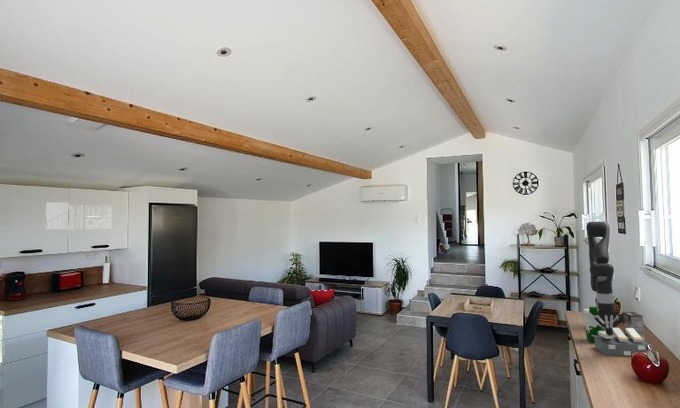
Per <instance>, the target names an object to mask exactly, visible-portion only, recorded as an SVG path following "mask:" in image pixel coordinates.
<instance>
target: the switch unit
mask: <svg viewBox="0 0 680 408" xmlns="http://www.w3.org/2000/svg"><path fill="white" fill-rule="evenodd" d="M613 337H614V339H606V338H604V337H602V336H594V341H595V343H594V348H595V347H596V348H595V349H596V350H597V351H599V352H600V353H601V354H602V355H604V357H605V356H606V357H607V356H609V357H633V356H632V354H633V353H635V352H644V353H645V352H646V351H647V345H649V346H650V344H649V343H648V342H646V341H645V342H644V341H643V342H634V341H633V340H632V338H631V337H627V338H628V342H620V341H619V340H618V339H617V337H616V336H613Z"/></svg>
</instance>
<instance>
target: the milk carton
mask: <svg viewBox="0 0 680 408" xmlns="http://www.w3.org/2000/svg"><path fill="white" fill-rule="evenodd" d="M582 311H583V321H584V328H585V329H584V330H585V335H586V339H587V341H588V342H589V343H590V344H595V341H594V336H600V335H598V331H604V327H602V326H601V325H600V324H599V323H598V322H597V321H596V320H595V319H594V318H593V317H595V316H597V315H598V314H597V313H598V308H597V307H596V306H589V308H583V310H582ZM599 318H600V317H599ZM600 321H601V322H602V323H603V320H602V319H601V318H600Z"/></svg>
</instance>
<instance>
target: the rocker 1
mask: <svg viewBox="0 0 680 408" xmlns="http://www.w3.org/2000/svg"><path fill="white" fill-rule="evenodd" d="M598 335H600V336H602V337H604V338H606V339H614V337H615V336H614V334H612V336H609V335H607V334H606V331H598Z"/></svg>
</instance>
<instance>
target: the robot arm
mask: <svg viewBox="0 0 680 408" xmlns="http://www.w3.org/2000/svg"><path fill="white" fill-rule="evenodd" d="M610 229H611V228H610V224H609V223H608V222H607V221H589V222H587V223H586V229H585V230H586V235H587V241H588V256H589V257H588V258H589V273H590V288H591V290H592V291H593V292H596V297H595V298H594V299H595V307H597V308H598V313H597V314H598V315H597V316H595V317H593V318H594V319H595V320H596V321H597V322H598V323H599V324H600V325H601V326H602V327H604V331H606V334H607V335H609V336H612V335H614V334H613V328H618V325H619V324H620V322H622V321H623V318H622V317H621V316H619V315H618V314H617V312H616V305H615V303H616V302H615V297H614V294H613V278H614V273H615V268H614V265H612V263H609V261H610V258H609V245H610V236H611V235H610V234H611V233H610V231H611V230H610ZM596 238H600V240H599V241H597V240H596ZM599 317H600V318H601V319H602V320H603V323H602V322H601V321H600V318H599Z"/></svg>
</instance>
